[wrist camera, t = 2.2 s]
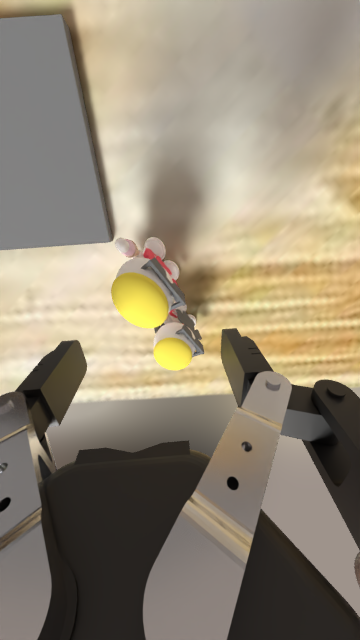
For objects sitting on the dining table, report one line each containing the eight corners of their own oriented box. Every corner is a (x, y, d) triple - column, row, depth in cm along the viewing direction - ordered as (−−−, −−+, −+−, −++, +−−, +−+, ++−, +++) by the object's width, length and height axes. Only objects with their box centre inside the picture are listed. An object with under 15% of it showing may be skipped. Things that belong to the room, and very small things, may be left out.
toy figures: (203, 331, 23) (218, 389, 16) (166, 343, 24) (164, 405, 16) (160, 219, 17) (153, 225, 10) (114, 238, 18) (75, 258, 11)
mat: (68, 28, 12) (61, 14, 11) (112, 240, 18) (109, 242, 17) (-133, 41, 12) (-156, 28, 11) (-25, 250, 18) (-36, 252, 17)
